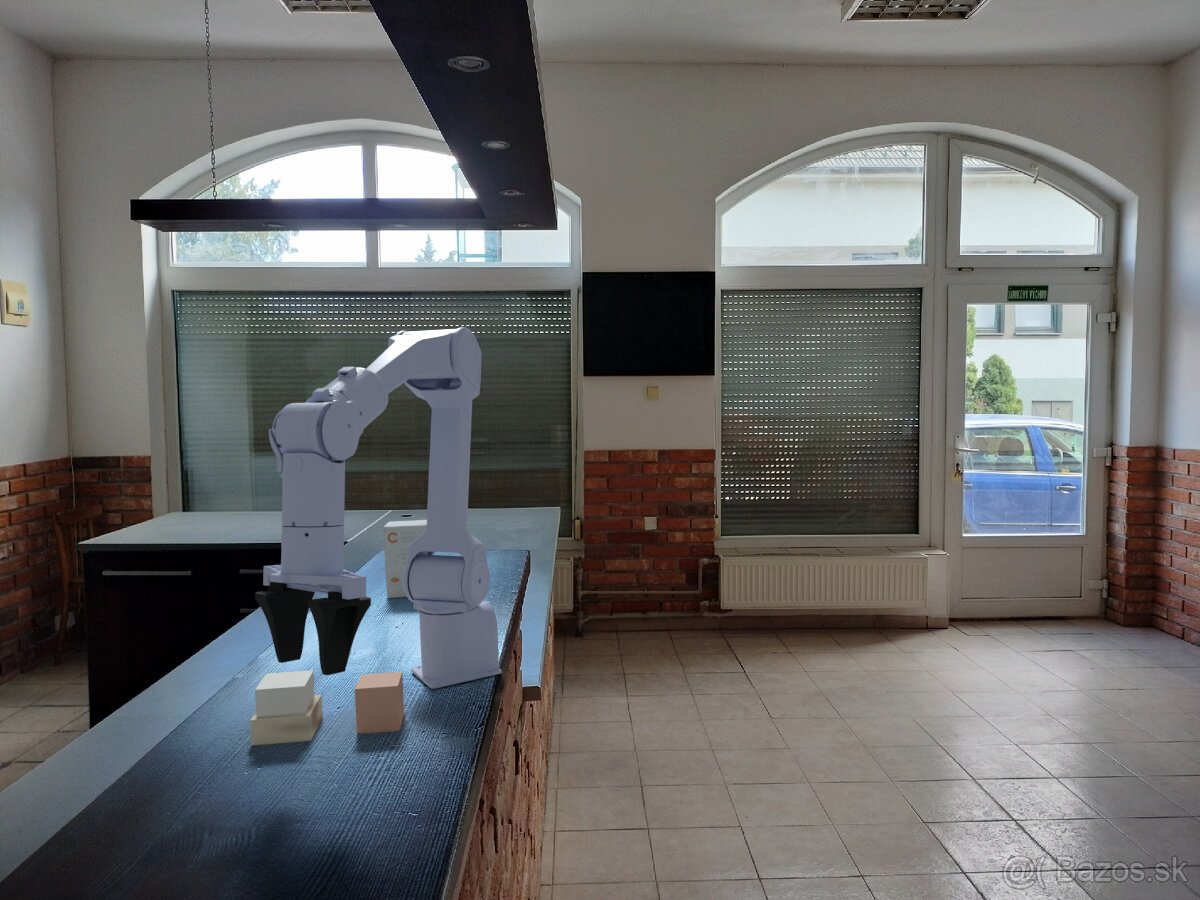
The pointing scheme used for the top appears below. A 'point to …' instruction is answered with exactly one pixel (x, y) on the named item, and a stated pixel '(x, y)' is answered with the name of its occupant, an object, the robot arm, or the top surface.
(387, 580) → the small box
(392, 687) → the terracotta block
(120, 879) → the top surface
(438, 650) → the robot arm
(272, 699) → the tower top slab
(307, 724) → the tower base slab
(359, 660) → the top surface
